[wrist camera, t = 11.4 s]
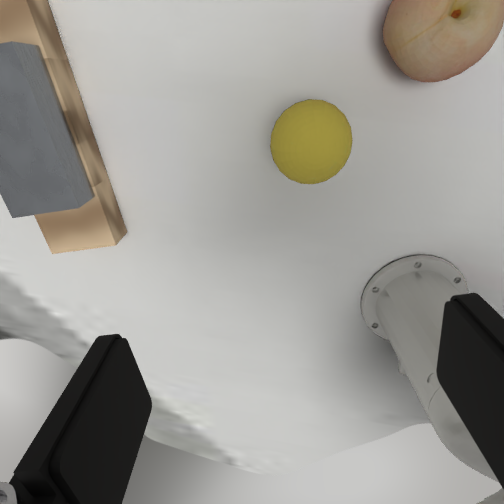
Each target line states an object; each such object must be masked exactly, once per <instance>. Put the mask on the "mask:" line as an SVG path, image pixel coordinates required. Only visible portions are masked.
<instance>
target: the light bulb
mask: <svg viewBox="0 0 504 504" xmlns="http://www.w3.org/2000/svg"><path fill="white" fill-rule="evenodd" d="M351 147H352V133H351V127H350V125H349V122H348V120H347V118H346V116H345V115H344V114H343V113H342V112H341V111H340V110H339V109H338V108H337V107H336V106H335V105H333V104H330V103H328V102H326V101H323V100H312V99H309V100H305V101H302V102H298V103H295V104H294V105H292V106H291V107H289V108H288V109H287V110H285V111H284V112H283V113H282V115H281V116H280V117H279V119H278V120H277V121H276V123H275V126H274V129H273V131H272V134H271V145H270V148H271V153H272V157H273V160H274V162H275V164H276V165H277V167H278V168H279V170H280V172H282V173H283V174H284V175H285V176H286V177H288V178H289V179H291V180H293V181H296V182H298V183H301V184H316V183H320V182H324V181H326V180H328V179H330V178H331V177H333V176H335V175H336V174H337V173H338V172H339V171H340V170H341V169H342V167H343V166H344V165H345V163H346V161H347V159H348V157H349V155H350V152H351Z"/></svg>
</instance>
